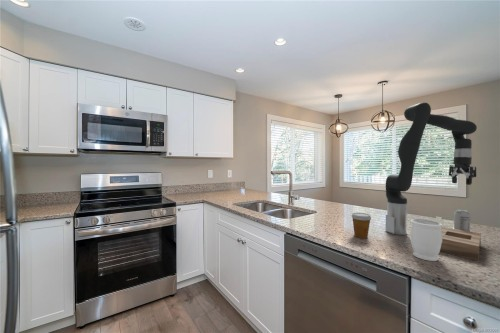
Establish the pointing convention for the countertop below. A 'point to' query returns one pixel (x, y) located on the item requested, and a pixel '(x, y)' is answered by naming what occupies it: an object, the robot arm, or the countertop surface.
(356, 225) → the disposable coffee cup
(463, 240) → the cutout shelf
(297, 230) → the countertop surface
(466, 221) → the energy drink can
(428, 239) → the jar
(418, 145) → the robot arm
